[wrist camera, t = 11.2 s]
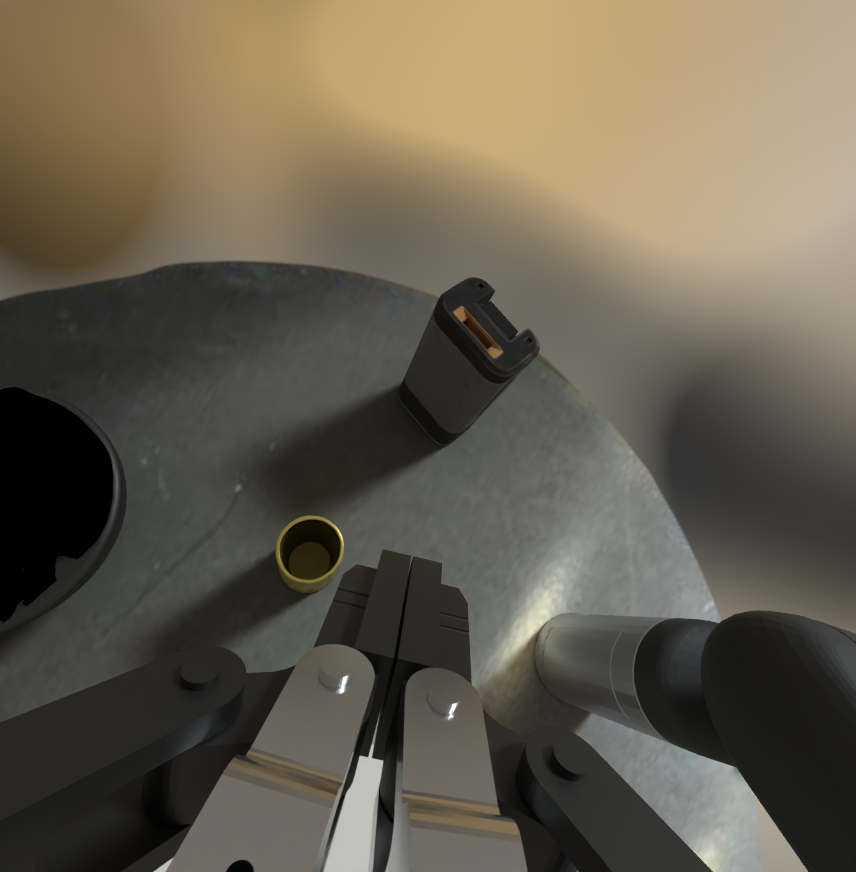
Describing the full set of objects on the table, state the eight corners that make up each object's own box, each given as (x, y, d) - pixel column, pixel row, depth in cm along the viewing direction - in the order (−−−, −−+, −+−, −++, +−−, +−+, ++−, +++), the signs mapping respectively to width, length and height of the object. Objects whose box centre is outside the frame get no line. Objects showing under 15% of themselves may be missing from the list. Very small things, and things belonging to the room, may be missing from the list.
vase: (350, 556, 51) (365, 540, 38) (313, 605, 49) (315, 607, 35) (305, 521, 51) (304, 494, 38) (266, 569, 49) (250, 557, 35)
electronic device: (474, 424, 60) (549, 345, 41) (440, 451, 57) (503, 381, 39) (427, 369, 61) (479, 268, 42) (391, 394, 58) (430, 299, 40)
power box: (43, 791, 39) (-86, 884, 26) (395, 693, 48) (428, 728, 35) (40, 914, 37) (-103, 1081, 24) (410, 788, 45) (452, 862, 33)
